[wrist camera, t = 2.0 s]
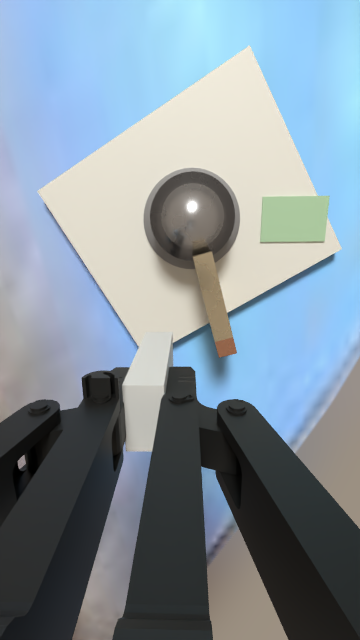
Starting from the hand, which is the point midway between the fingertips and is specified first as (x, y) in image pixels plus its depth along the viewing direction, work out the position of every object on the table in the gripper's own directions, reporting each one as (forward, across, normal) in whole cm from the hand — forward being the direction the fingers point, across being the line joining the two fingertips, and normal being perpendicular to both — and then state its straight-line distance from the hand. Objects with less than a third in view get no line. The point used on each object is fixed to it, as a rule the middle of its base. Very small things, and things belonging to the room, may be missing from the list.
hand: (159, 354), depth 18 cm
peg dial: (+14, +3, +4) cm, 14 cm away
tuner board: (+15, +2, +8) cm, 17 cm away
